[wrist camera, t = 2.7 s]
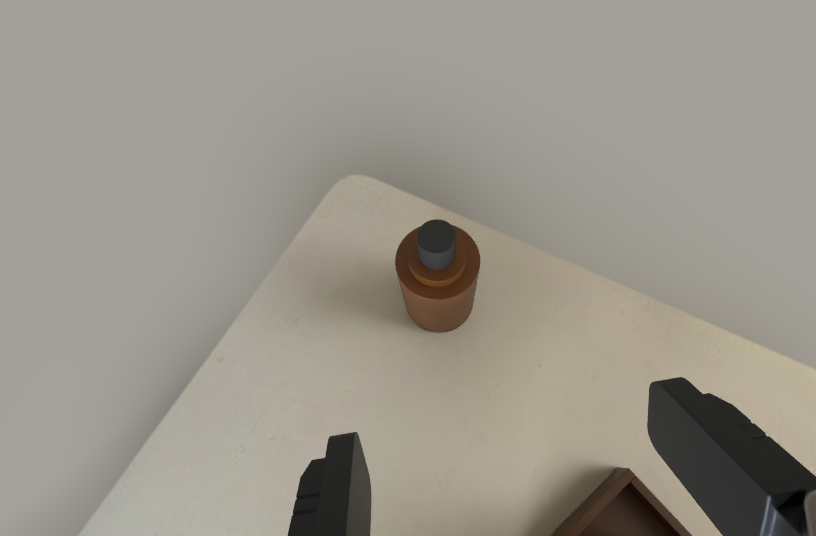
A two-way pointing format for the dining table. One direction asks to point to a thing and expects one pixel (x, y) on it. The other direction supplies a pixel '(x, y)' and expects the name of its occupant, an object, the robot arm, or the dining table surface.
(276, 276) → the dining table surface
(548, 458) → the dining table surface
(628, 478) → the tray
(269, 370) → the dining table surface
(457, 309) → the bottle
